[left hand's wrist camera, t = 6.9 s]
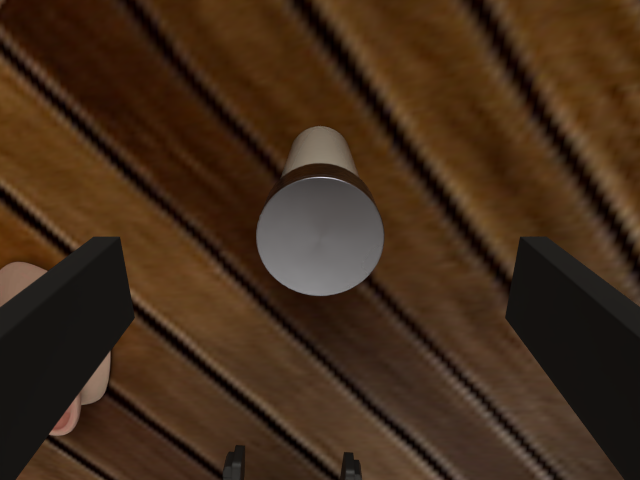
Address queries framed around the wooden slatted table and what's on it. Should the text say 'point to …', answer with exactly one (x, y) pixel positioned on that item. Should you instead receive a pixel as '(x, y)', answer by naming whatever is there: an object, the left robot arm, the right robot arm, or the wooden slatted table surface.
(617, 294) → the left robot arm
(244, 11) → the wooden slatted table surface
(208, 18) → the wooden slatted table surface
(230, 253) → the wooden slatted table surface
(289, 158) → the beige cylinder
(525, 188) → the wooden slatted table surface
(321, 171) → the lid
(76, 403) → the anatomical model
